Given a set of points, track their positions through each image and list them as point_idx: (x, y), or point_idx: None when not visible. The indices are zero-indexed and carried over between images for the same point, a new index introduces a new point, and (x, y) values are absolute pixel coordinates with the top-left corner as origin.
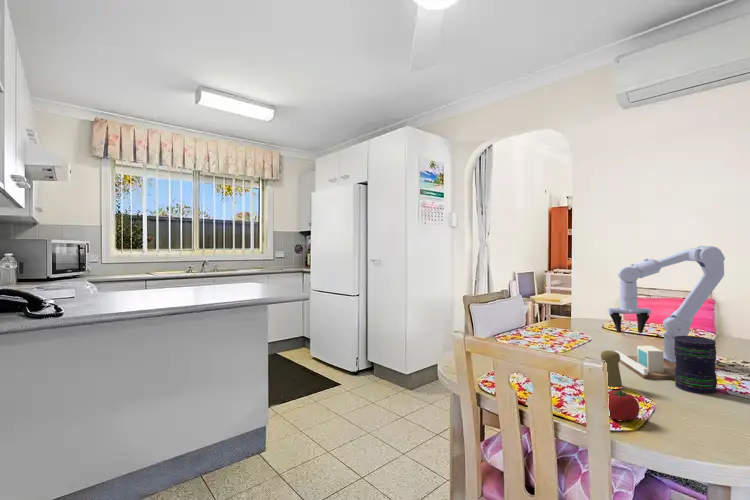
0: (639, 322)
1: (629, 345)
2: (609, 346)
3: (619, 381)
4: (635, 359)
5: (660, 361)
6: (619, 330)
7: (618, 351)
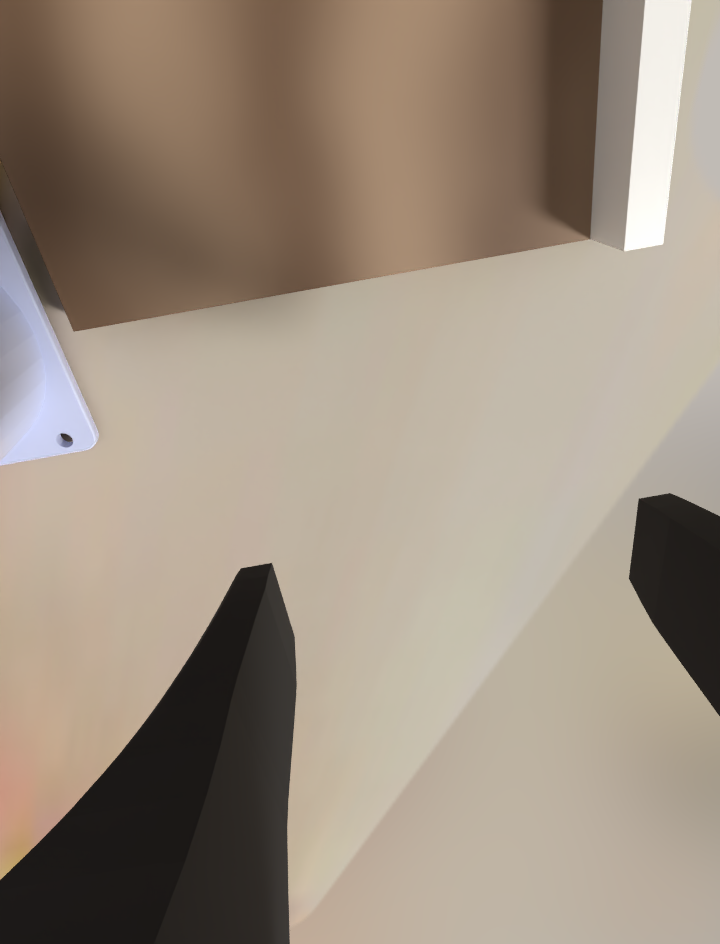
0: (264, 804)
1: (297, 722)
2: (469, 662)
3: None
4: (431, 75)
5: None
6: (701, 509)
7: (638, 192)
